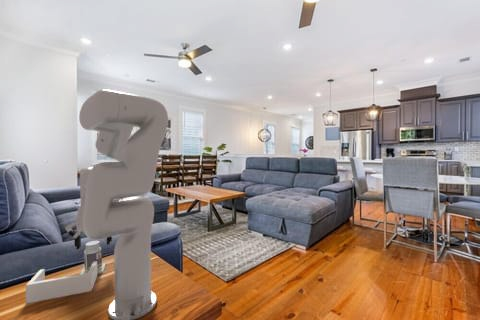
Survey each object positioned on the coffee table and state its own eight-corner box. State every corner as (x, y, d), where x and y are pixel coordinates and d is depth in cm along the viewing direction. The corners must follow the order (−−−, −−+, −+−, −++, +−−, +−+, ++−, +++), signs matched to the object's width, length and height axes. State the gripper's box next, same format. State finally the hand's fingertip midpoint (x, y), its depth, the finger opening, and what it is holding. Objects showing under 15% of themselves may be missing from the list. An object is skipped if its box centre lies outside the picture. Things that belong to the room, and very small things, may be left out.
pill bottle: (105, 265, 90) (105, 240, 89) (94, 273, 84) (94, 246, 84) (92, 264, 90) (91, 239, 90) (80, 272, 85) (79, 245, 84)
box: (91, 291, 74) (91, 274, 74) (26, 303, 68) (25, 285, 68) (97, 275, 83) (97, 260, 83) (40, 285, 77) (40, 269, 77)
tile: (103, 272, 85) (103, 271, 85) (79, 276, 82) (79, 275, 82) (106, 264, 92) (106, 262, 92) (84, 267, 89) (84, 266, 89)
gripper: (119, 197, 94) (120, 239, 93) (68, 201, 87) (69, 246, 87) (117, 199, 87) (118, 245, 86) (61, 204, 80) (62, 253, 80)
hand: (93, 245), depth 87 cm, fingers open, 9 cm apart
